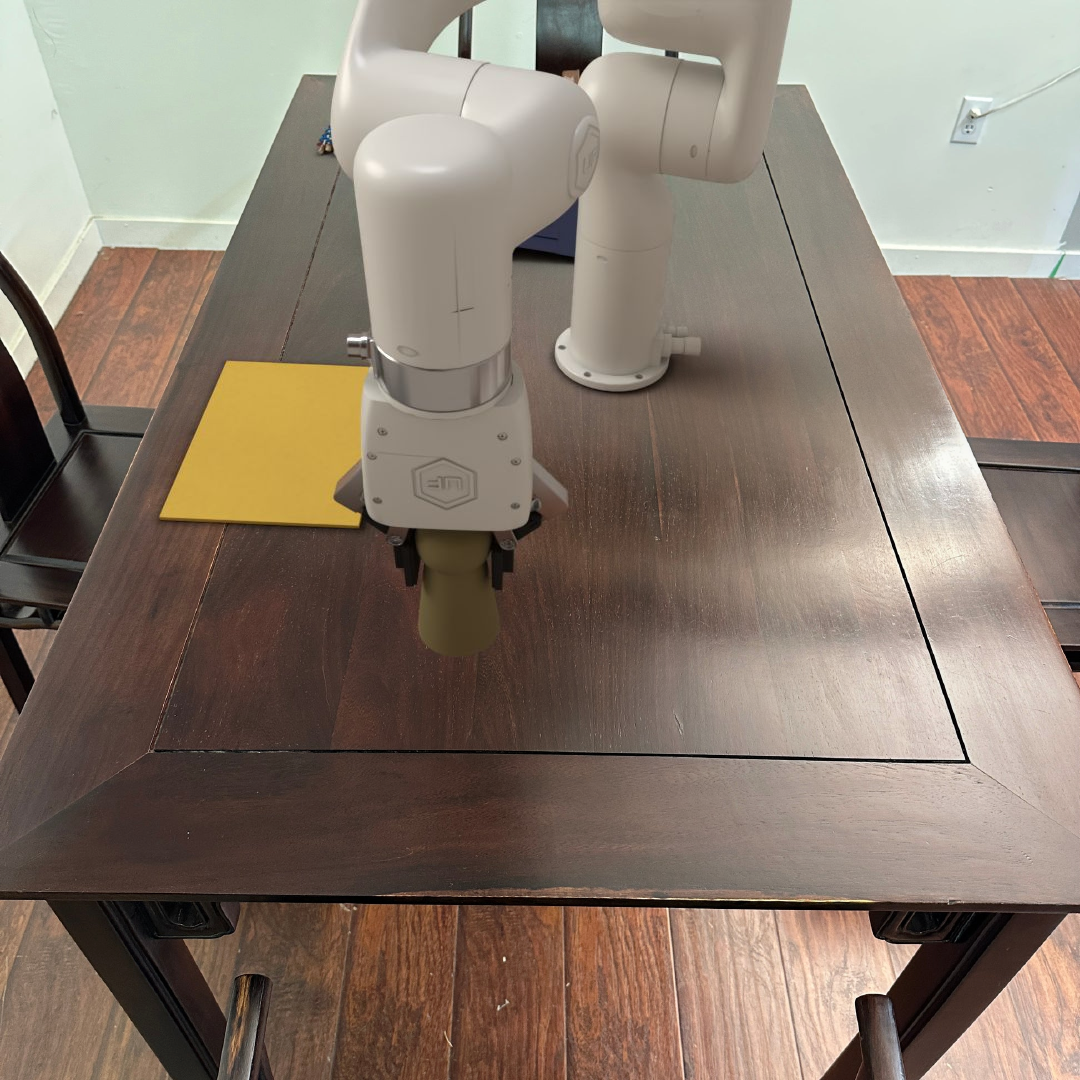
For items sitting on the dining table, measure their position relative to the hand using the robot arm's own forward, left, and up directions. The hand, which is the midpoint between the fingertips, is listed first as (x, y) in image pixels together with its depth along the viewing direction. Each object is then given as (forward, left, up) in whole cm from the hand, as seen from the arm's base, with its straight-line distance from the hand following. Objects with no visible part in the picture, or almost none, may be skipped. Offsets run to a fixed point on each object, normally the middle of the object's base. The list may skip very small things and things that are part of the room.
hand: (456, 571), depth 66 cm
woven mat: (+23, -97, -13) cm, 100 cm away
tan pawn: (0, 0, -6) cm, 6 cm away
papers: (+2, -76, -13) cm, 78 cm away
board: (+20, -29, -13) cm, 37 cm away
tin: (-8, -101, -13) cm, 103 cm away
